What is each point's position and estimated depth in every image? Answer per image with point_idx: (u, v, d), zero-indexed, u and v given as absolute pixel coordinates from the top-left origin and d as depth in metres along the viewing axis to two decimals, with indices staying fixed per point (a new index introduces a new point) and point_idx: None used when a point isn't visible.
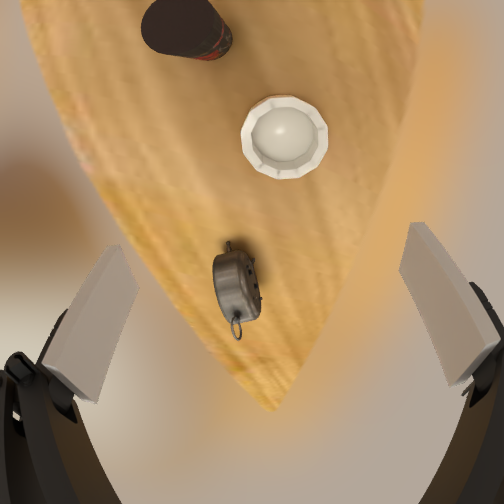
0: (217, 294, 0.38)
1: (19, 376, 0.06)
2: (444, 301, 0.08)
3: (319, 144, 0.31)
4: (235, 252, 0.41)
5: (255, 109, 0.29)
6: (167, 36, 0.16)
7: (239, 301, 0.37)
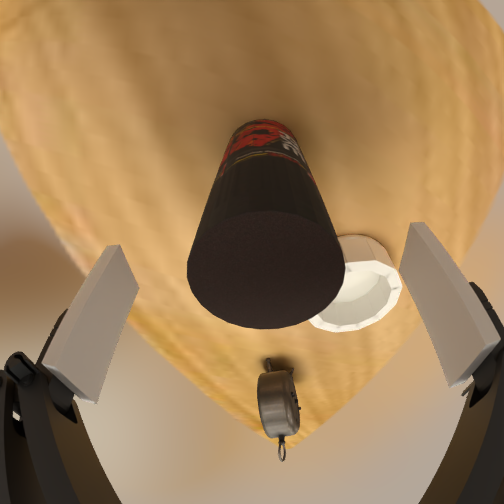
0: (263, 424, 0.33)
1: (19, 376, 0.06)
2: (444, 301, 0.08)
3: (388, 302, 0.27)
4: (279, 380, 0.36)
5: None
6: (246, 303, 0.11)
7: (285, 429, 0.33)
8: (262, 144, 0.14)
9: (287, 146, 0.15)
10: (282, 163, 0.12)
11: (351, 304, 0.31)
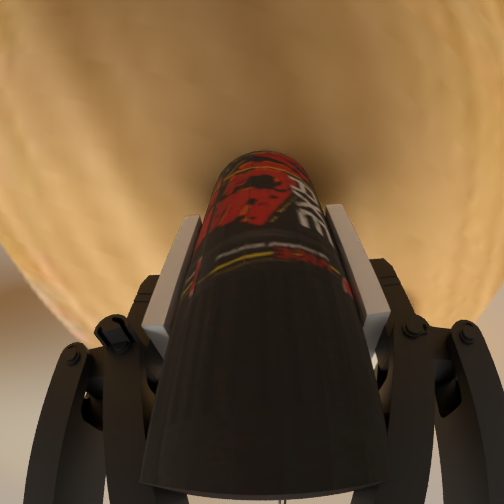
0: None
1: (111, 341, 0.07)
2: None
3: None
4: None
5: None
6: None
7: None
8: (263, 220, 0.09)
9: (305, 217, 0.09)
10: (302, 284, 0.07)
11: None
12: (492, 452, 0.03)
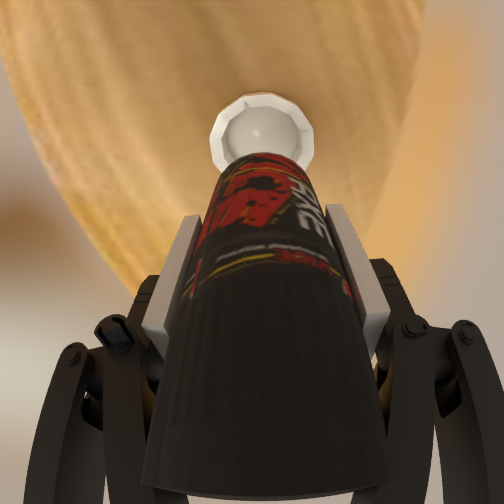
0: None
1: (111, 341, 0.07)
2: None
3: (303, 150, 0.27)
4: None
5: (225, 110, 0.24)
6: None
7: None
8: (264, 222, 0.09)
9: (305, 218, 0.09)
10: (303, 286, 0.07)
11: None
12: (492, 452, 0.03)
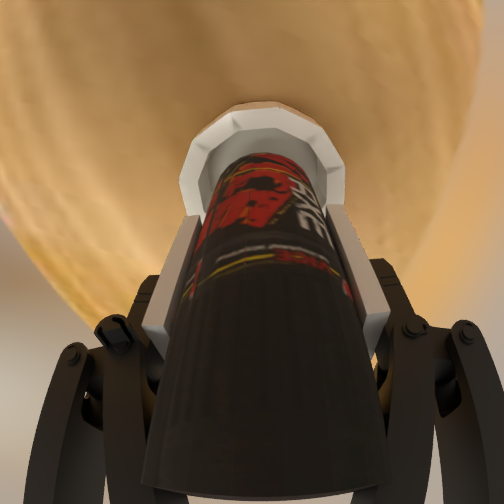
0: None
1: (111, 341, 0.07)
2: None
3: (328, 199, 0.17)
4: None
5: (202, 135, 0.15)
6: None
7: None
8: (263, 222, 0.09)
9: (305, 218, 0.09)
10: (303, 287, 0.07)
11: None
12: (492, 452, 0.03)
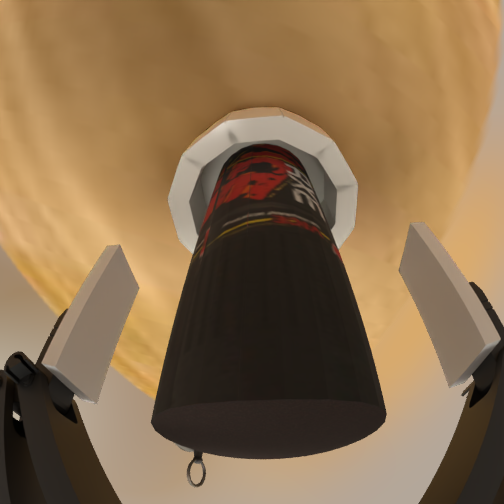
0: None
1: (19, 376, 0.06)
2: (444, 301, 0.08)
3: (337, 220, 0.15)
4: None
5: (193, 149, 0.13)
6: (241, 449, 0.07)
7: None
8: (263, 196, 0.10)
9: (299, 195, 0.11)
10: (296, 242, 0.08)
11: None
12: None
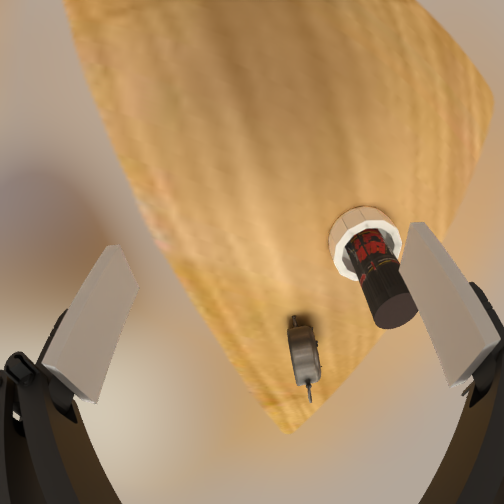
0: (294, 368, 0.43)
1: (19, 376, 0.06)
2: (444, 301, 0.08)
3: None
4: (306, 330, 0.46)
5: (352, 228, 0.35)
6: (388, 319, 0.28)
7: (312, 372, 0.43)
8: (384, 252, 0.32)
9: (391, 251, 0.33)
10: (398, 267, 0.30)
11: None
12: None
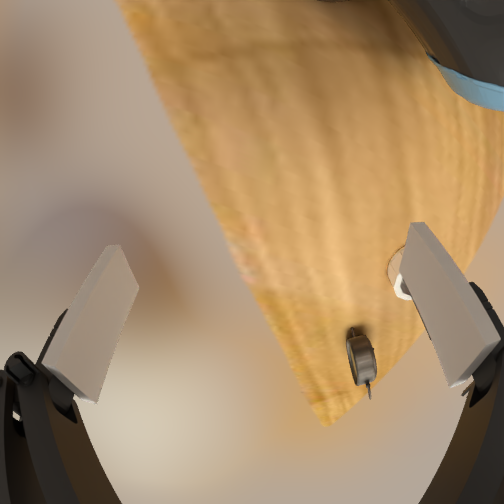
0: (358, 372, 0.49)
1: (19, 376, 0.06)
2: (444, 301, 0.08)
3: None
4: (365, 340, 0.52)
5: None
6: None
7: (371, 374, 0.49)
8: None
9: None
10: None
11: None
12: None
